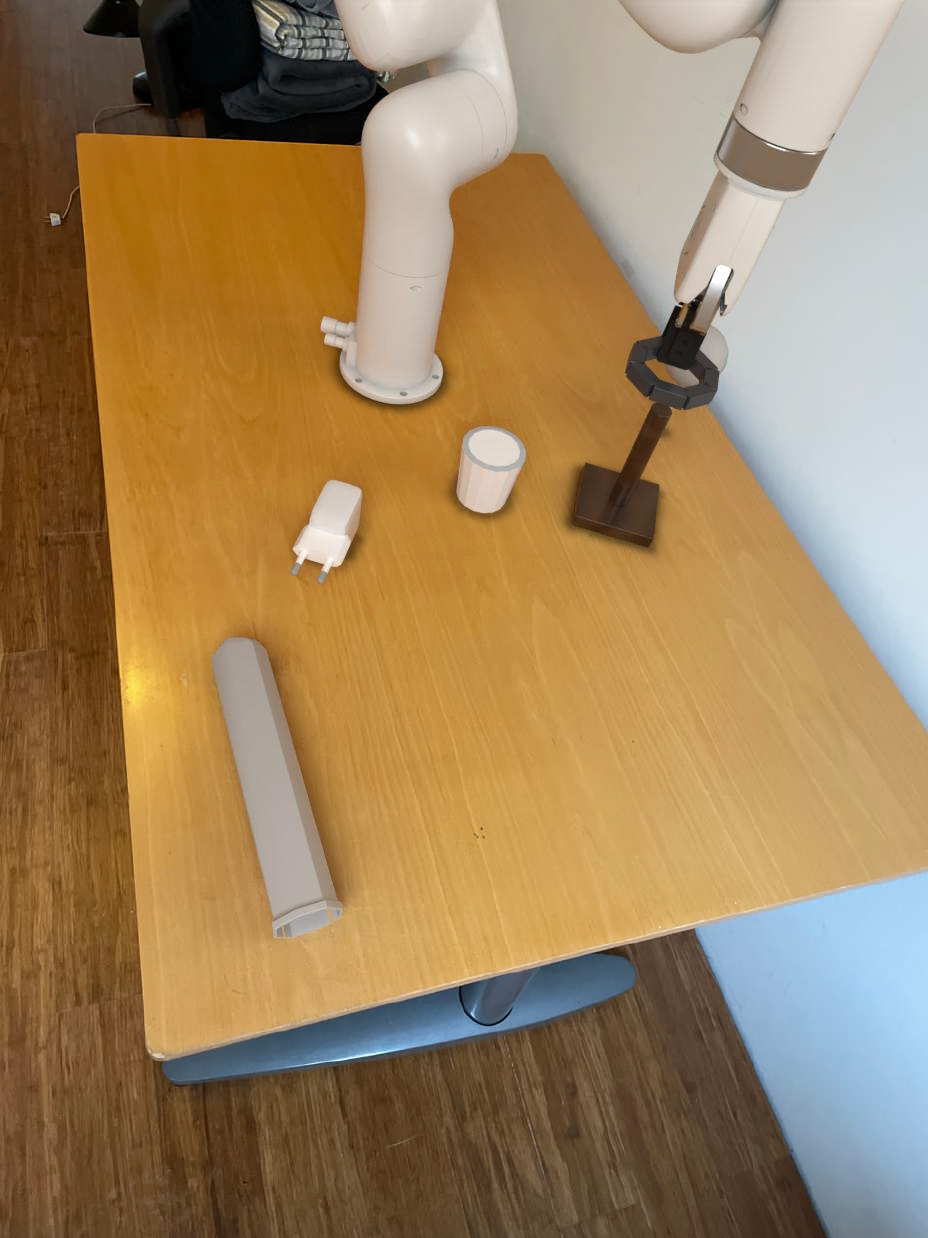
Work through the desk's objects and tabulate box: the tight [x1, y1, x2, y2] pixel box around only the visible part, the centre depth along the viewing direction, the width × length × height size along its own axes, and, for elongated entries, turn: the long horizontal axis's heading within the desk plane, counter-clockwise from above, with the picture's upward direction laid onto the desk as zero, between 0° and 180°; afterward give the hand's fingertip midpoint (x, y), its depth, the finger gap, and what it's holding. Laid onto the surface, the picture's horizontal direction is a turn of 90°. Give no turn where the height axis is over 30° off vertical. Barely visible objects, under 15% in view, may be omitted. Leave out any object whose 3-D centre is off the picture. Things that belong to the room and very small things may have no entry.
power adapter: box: [289, 479, 363, 585], centre depth 79 cm, size 11×5×6 cm, turn 166°
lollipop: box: [664, 324, 729, 411], centre depth 97 cm, size 7×7×15 cm
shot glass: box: [455, 425, 527, 514], centre depth 88 cm, size 7×7×7 cm
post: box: [571, 402, 673, 549], centre depth 87 cm, size 9×9×14 cm
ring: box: [624, 335, 721, 411], centre depth 74 cm, size 8×8×1 cm
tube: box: [210, 637, 344, 940], centre depth 65 cm, size 5×5×25 cm
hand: (673, 355), depth 76 cm, fingers closed on ring, 1 cm apart
